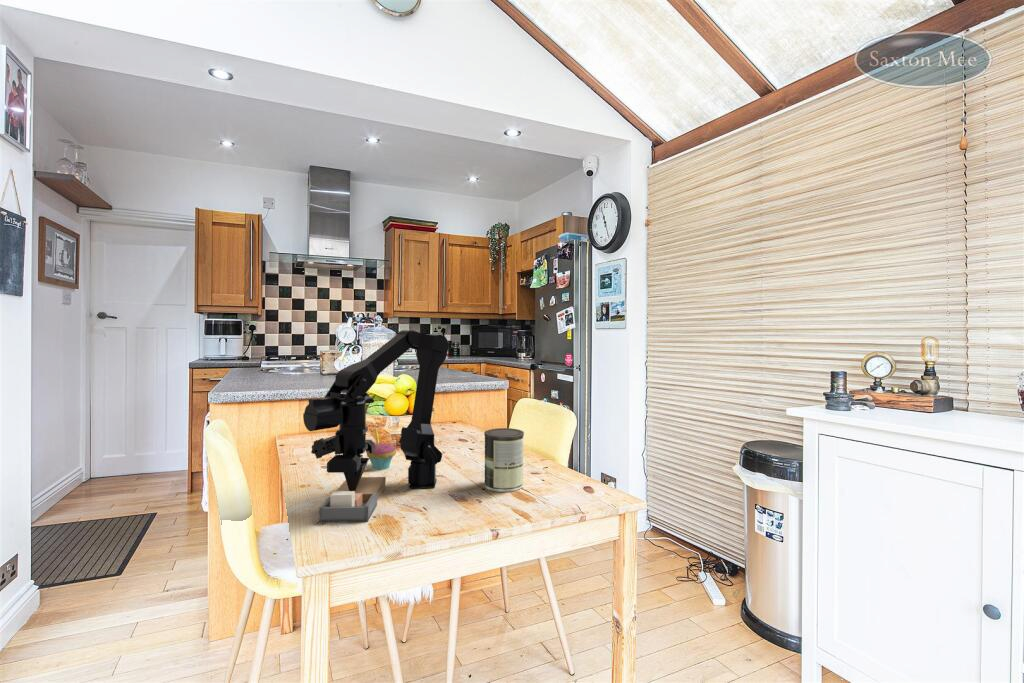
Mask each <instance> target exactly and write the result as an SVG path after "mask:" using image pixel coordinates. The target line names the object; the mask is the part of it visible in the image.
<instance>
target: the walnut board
mask: <svg viewBox="0 0 1024 683" xmlns="http://www.w3.org/2000/svg"><path fill="white" fill-rule="evenodd" d="M386 479H387V478H386V476H362V477H361V479H360V482H359V484H358V487H357V489H356V491H355V493H362V503H367V502H368V500H369V499H370V497H371V495H372V494H373V492H377V502H378V500H379V499H380V497H381V495H382V494H383V492H384V490H385V488H386V481H387V480H386ZM336 491H349V488H348V485H347V482H346V479H345V480H344V482H343V483H342V484H341V485H339V487H338V488H337V490H336Z"/></svg>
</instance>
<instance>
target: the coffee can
mask: <svg viewBox="0 0 1024 683" xmlns="http://www.w3.org/2000/svg"><path fill="white" fill-rule="evenodd" d="M483 435H484V488H485V489H487V491H488V490H489V491H491V492H496V493H511V492H515V491H516V492H517V491H519V490H520V489H522V488H524V436H525V432H524V431H523V430H521V429H517V428H510V427H509V428H508V427H506V428H505V427H502V428H500V427H499V428H491V429H490V428H489V429H488V430H485V431H484V433H483Z"/></svg>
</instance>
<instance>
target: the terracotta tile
mask: <svg viewBox="0 0 1024 683" xmlns="http://www.w3.org/2000/svg"><path fill="white" fill-rule="evenodd" d="M361 505H362V493H355V506H361Z"/></svg>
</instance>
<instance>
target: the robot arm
mask: <svg viewBox="0 0 1024 683" xmlns="http://www.w3.org/2000/svg"><path fill="white" fill-rule="evenodd" d="M449 347H450V343H449V341H448V339H447V337H446V336H445V335H443V334H435V333H434V334H431V333H430V334H429V333H428V334H427V333H421V332H418V331H415V330H409V329H405V330H404V329H402V330H400V331H398V332H397V333H396V335H395V336H393V337H392V338H391V339H390V340H388V341H387V342H385V344H383V345H382V346H380V347H379V348H378V349H376V350H375V351H374V352H373V353H371V354H370V355H369V356H367V357H366V358H365V359H363V360H361V361H358V362H356V363H352V364H350V365H348V366H346V367H344V368H341V369H339V371H338V372H337V373H336V374H335V379H334V382H332V385H331V386H330V388H329V390H328V391H327V393H326V394H325V396H324V397H323V398H316V397H315V398H312V397H311V398H309V399H308V404H307V405H306V407H305V408H304V412H303V414H302V415H303V416H302V418H303V424H304V426H305V428H306V430H307V431H309V432H314V431H320V430H321V431H322V430H326V429H327V430H328V429H333V428H337V427H338V426H339V427H338V429H337V430H336V432H335V433H334V435H331V436H329V437H327V438H323V437H322V438H320V439H316V440H314V441H313V444H312V445H311V451H310V452H311V454H312V455H315V458H316V459H321V458H322V457H324V456H327V455H329V454H332V453H334V456H333V457H332V458H331V459H330V460H328V461H327V462H326V472H327V473H329V474H330V473H331V474H332V473H334V474H335V473H341V474H342V473H343V474H344V478H345V480H346V482H347V485H348V488H349V491H356V489H357V487H358V484H359V482H360V479H361V477H363V474H364V472H365V469H366V468H367V464H368V462H369V461H370V459H369V457H364V456H363V454H364V453H366V451H369V452H370V453H373V452H374V451H375V442H374V441H373V440H372V439H366V438H367V435H366V433H367V432H368V431H369V427H368V426H367V424H366V423H367V420H366V419H367V418H366V417H367V412H366V411H367V410H366V409H367V407H366V405H367V404H373V403H374V402H375V399H374V398H373V397H371V396H370V395H369V393H368V391H369V390H370V389H371V387H372V386H373V385H374V384H376V381H377V379H378V376H379V375H380V374H381V373H382V372H383V371H384V370H385V369H387V368H389V366H390V365H392V364H393V363H394V362H395V361H396V360H398V359H399V358H400V357H401V356H403V355H404V354H405V353H406V352H407V351H408V350H410V349H412V350H415V357H416V360H417V362H418V366H419V369H418V376H417V381H416V388H415V389H416V390H415V395H414V400H413V401H414V402H413V407H412V408H413V409H412V415H411V420H410V422H409V424H408V425H407V427H404V426H403V427H401V430H400V431H401V432H400V438H399V440H398V443H399V444H400V451H402V453H403V454H404V457H405V460H406V461H410V465H409V466H408V469H407V476H408V477H407V482H408V484H409V486H408V487H409V489H419V488H420V489H424V488H425V489H434V488H436V484H437V481H438V479H437V477H436V476H437V474H436V473H437V470H436V469H437V464H439V463H441V461H442V457H443V452H441V451H440V450H439V449H438V447H436V445H435V433H434V431H433V427H432V424H431V423H432V416H433V415H432V414H433V410H434V409H433V408H434V402H435V395H436V389H437V381H438V375H439V369H440V368H441V366H442V365H443V364H444V362H445V361H446V360H447V359H446V358H447V356H448V352H449Z"/></svg>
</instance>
